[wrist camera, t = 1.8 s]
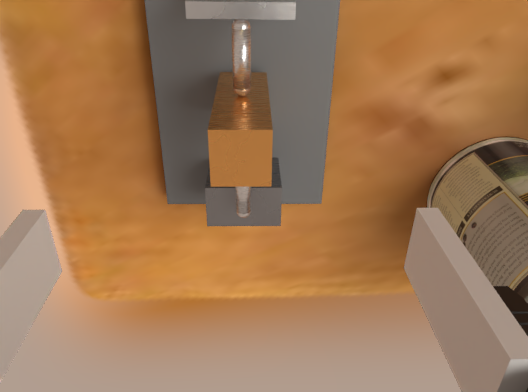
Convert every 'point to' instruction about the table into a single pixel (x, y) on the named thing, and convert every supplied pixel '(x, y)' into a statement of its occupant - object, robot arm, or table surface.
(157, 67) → the board
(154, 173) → the table surface
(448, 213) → the coffee can
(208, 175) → the block
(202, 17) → the wooden handled lever
